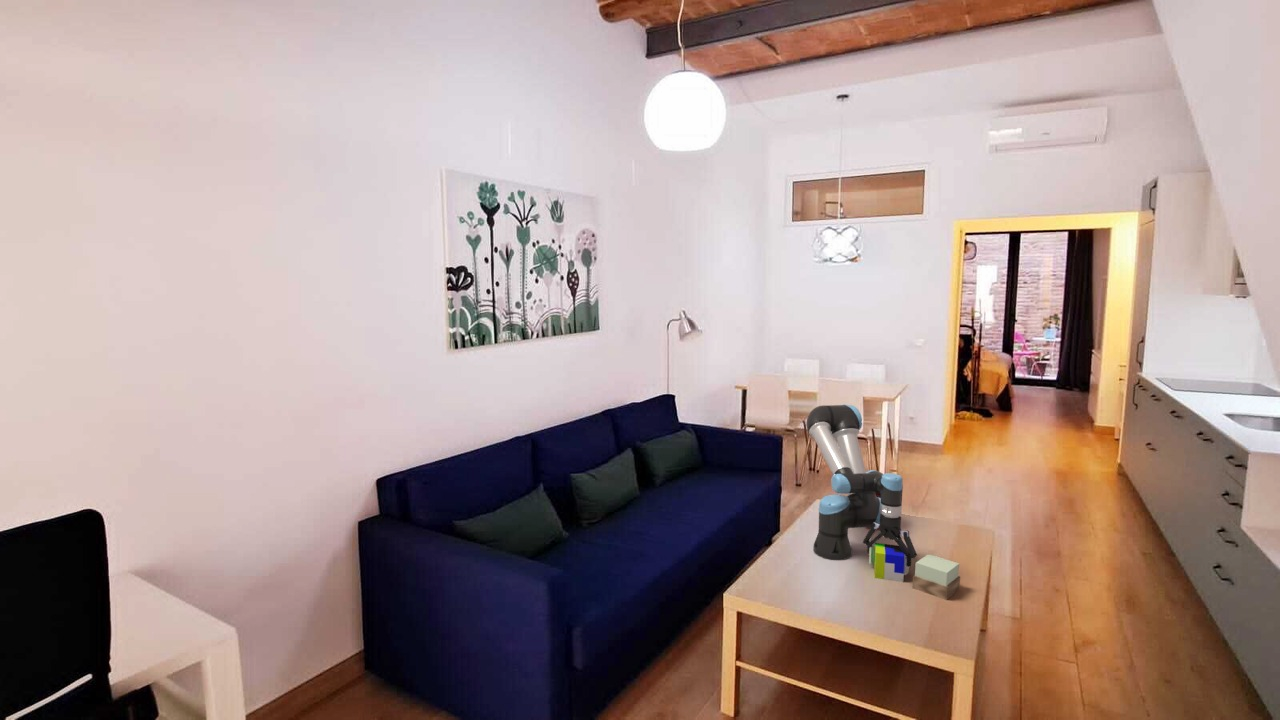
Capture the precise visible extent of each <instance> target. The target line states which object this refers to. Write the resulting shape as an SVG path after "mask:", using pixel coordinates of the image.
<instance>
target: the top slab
mask: <svg viewBox="0 0 1280 720" xmlns="http://www.w3.org/2000/svg"><path fill="white" fill-rule="evenodd" d="M914 566H915V570H914V575H915V576H917V577H920V578H923V579H926V580H929V581H932V582H935V583H938V584H941V585H944V586H947V585H948V584H950V583H951V582H952V581H954V580H955V579H956V578H957V577H958V576H959V575H960V574H959V573H960V571H959V570H960V563H958V562H955V561H952V560H949V559H946V558H942V557H939V556H936V555H933V554H929V553H928V554H926V555H925V556H924V557H922V558H920V559H918V560H917V561H916V562H915V565H914Z"/></svg>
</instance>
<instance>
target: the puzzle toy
mask: <svg viewBox="0 0 1280 720" xmlns="http://www.w3.org/2000/svg"><path fill="white" fill-rule="evenodd" d="M874 546H875V547H874V562H873V564H874V565H873V570H874V571H873V572H874V575H873V576H874V579H880V580H885V581H887V580H888V581H894V582H901V583H904V576H905V575H904V559H905V557H906V556H905V555H904V553H903V552H902V550H901V548H900V547H899V545H898V544H897V545H895V544H889V543H880V542H875V543H874Z"/></svg>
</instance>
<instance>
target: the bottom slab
mask: <svg viewBox="0 0 1280 720" xmlns="http://www.w3.org/2000/svg"><path fill="white" fill-rule="evenodd" d="M960 584H961V576H959V575H958V577H957V578H956V579H955V580H954V581H952V582H951V583H950V584H948V585H947V586H944V585H941V584H938V583H935V582H932V581H929V580H926V579H923V578H920V577H917V576H915V574H914V575H912V589H914V590H917V591H919V592H923V593H926V594H929V595H931V596H934V597H938V598H940V599H943V600H945V601H947V600H948V599H949V598H951V596H954V594H955V593H957V591H959V590H960V588H961V587H960V586H961V585H960Z"/></svg>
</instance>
